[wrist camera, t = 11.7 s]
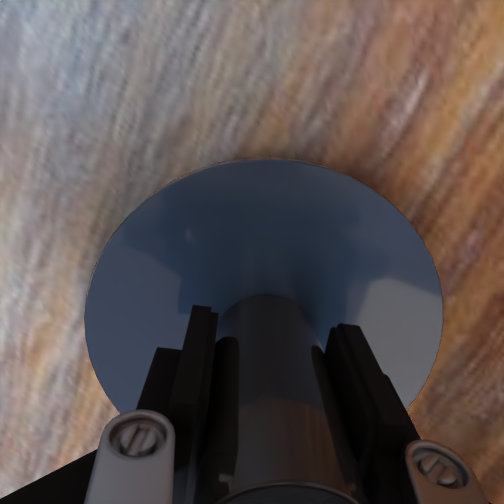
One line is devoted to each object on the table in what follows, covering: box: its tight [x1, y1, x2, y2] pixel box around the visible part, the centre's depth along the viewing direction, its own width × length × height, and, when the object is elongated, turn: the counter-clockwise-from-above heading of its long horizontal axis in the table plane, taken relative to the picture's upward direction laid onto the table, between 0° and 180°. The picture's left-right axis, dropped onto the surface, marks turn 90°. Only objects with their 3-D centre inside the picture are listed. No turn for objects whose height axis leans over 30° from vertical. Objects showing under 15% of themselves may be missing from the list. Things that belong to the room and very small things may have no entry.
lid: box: [84, 156, 443, 504], centre depth 11 cm, size 11×11×8 cm
